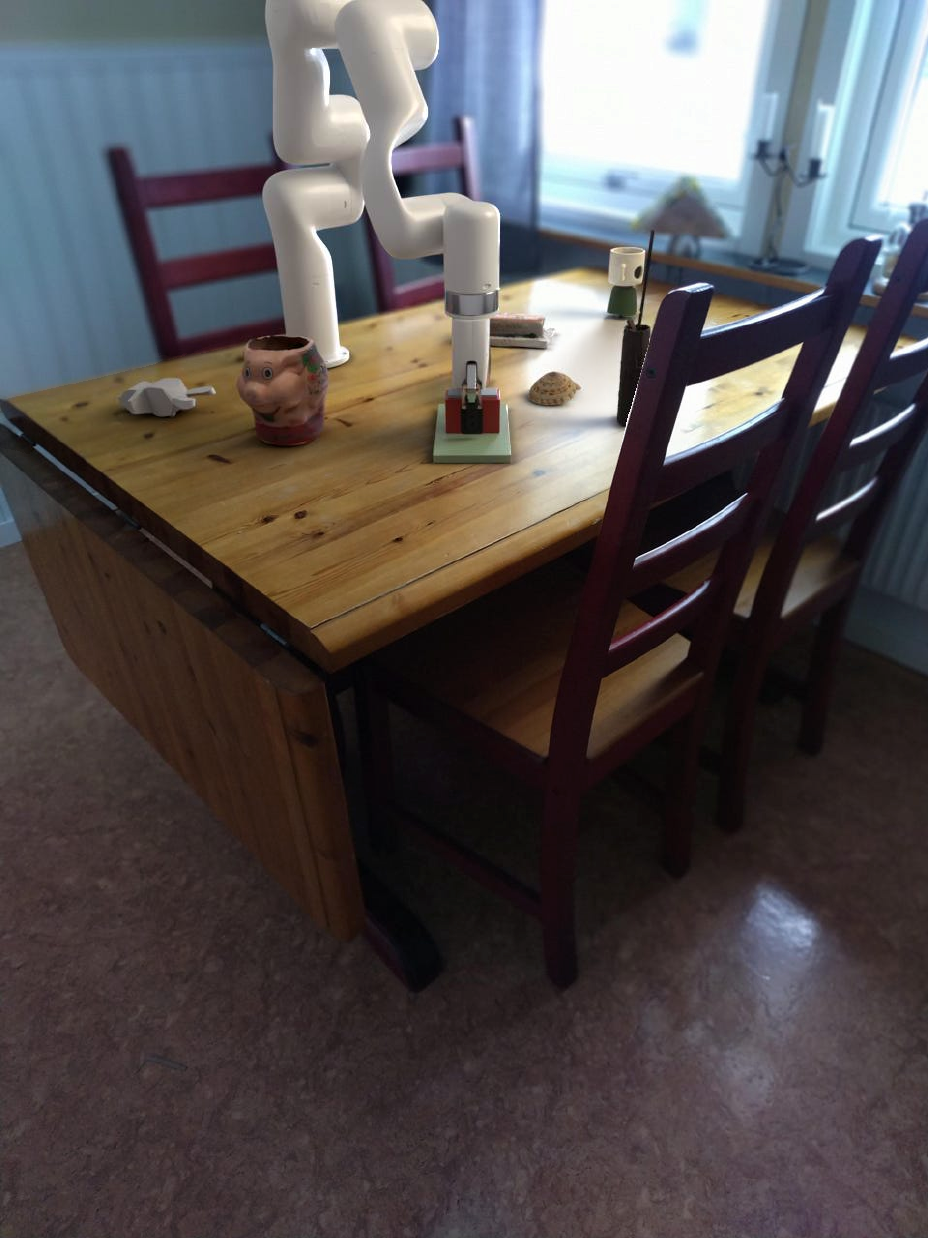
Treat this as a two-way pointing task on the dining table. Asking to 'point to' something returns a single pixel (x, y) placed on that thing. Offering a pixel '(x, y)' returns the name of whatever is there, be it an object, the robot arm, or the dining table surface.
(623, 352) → the butter churn
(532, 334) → the packaged product
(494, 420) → the red rectangular block
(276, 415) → the decorative planter
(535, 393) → the seashell
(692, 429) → the dining table surface
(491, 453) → the board
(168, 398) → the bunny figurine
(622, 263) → the character mug
